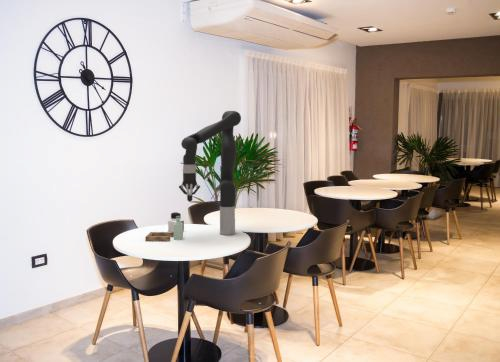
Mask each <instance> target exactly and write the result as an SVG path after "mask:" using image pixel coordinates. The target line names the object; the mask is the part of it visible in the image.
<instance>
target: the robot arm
mask: <svg viewBox="0 0 500 362" xmlns="http://www.w3.org/2000/svg"><path fill="white" fill-rule="evenodd" d="M241 121H242V116H241V114H240V112H238V111H236V110H225V111H224V112H223V113H222V116H221V120H219V121H217V122H214V123H212V124H210V125H207V126H205V127H204V128H201V129H200V130H199V131H196V132H195V133H193V134H190V135H188V136H186V137H184V138H182V140H181V143H180V145H181V147H182V149H184V150H185V153H184V155H183V157H182V159H183V160H182V161H183V165H182V182H181V184H179V186H178V188H179V189H180V191H181V192H182V193H183V195H186V200H187V201H188V203H190V202H192V201H193V195H196V193H197V192H198V191H199V189H200V188H201V185H199V184H198V182H197V167H196V155H197V150H198V144H203V143H205V142H206V141H208V140H210V139H212V138H213V137H214V136H216V135H218V134H220V133H222V135H221V136H222V137H221V152H220V153H221V155H220V167H221V168H220V170H221V173H220V179H219V180H220V181H219V185H218V186H219V187H218V190H219V193H220V196H219V197H220V199H219V235H223V236H232V235H235V234H236V213H235V212H236V208H235V207H236V206H235V205H236V185H235V184H234V168H235V166H236V162H237V144H236V140H235V137H234V127H236V126H238V125H239V124H240V123H241ZM194 189H195V190H194Z"/></svg>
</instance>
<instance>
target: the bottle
mask: <svg viewBox="0 0 500 362" xmlns="http://www.w3.org/2000/svg"><path fill="white" fill-rule="evenodd" d="M180 220H181V219H180V216H176V222H175V224H174V237H173V240H174V241H175V240H178V241H179V240H183V239H184V231H183V223H181V222H180Z"/></svg>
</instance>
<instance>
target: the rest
mask: <svg viewBox="0 0 500 362" xmlns="http://www.w3.org/2000/svg"><path fill="white" fill-rule="evenodd" d="M171 238H174V232H169V231H150V232H149V233H148V234H147V235H146V236H145V242H170V241H171Z"/></svg>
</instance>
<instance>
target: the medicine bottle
mask: <svg viewBox="0 0 500 362" xmlns="http://www.w3.org/2000/svg"><path fill="white" fill-rule="evenodd" d="M181 215H182V214H181V212H177V211H174V212H172V213H170V219H169V220H168V221H167V225H168V230H167V232H174V224H175V222H176V216H180V222H181V223H183V232H184V231H185V222H184V219H181V217H182V216H181Z"/></svg>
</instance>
